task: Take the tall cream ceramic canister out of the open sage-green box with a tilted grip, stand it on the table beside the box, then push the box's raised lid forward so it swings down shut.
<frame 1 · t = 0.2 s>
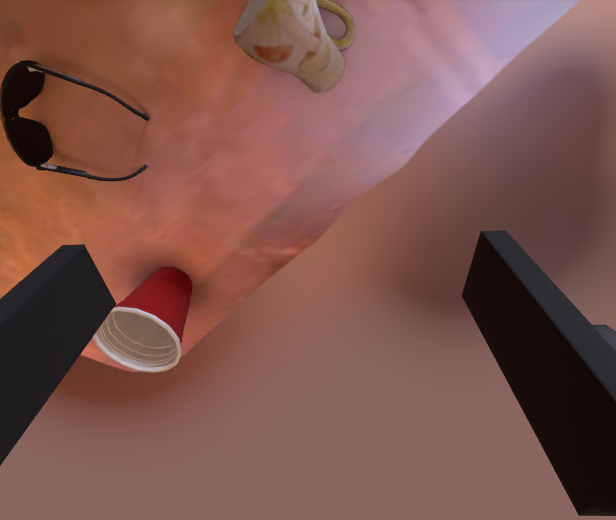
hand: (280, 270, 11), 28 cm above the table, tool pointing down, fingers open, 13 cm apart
plastic cup: (171, 280, 49), on the table
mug: (300, 35, 31), on the table
sunglasses: (95, 125, 36), on the table
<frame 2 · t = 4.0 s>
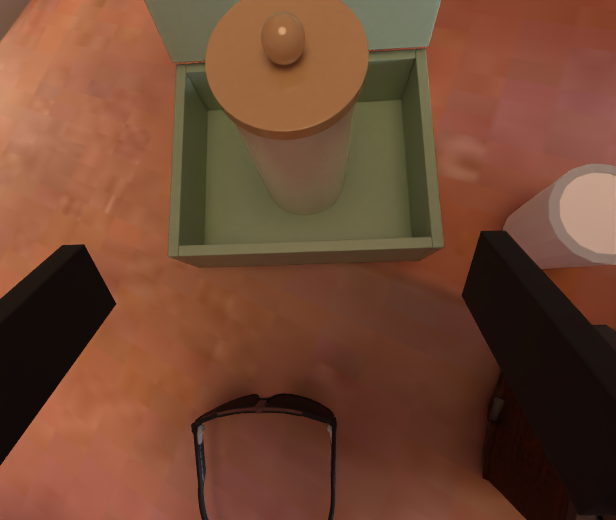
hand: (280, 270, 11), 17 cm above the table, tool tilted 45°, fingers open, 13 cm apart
brown manual coffee grinder: (546, 461, 25), on the table
box: (305, 180, 30), on the table
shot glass: (534, 237, 28), on the table
canister: (304, 176, 29), point 1 cm above the table, touching box
sunglasses: (272, 462, 27), on the table
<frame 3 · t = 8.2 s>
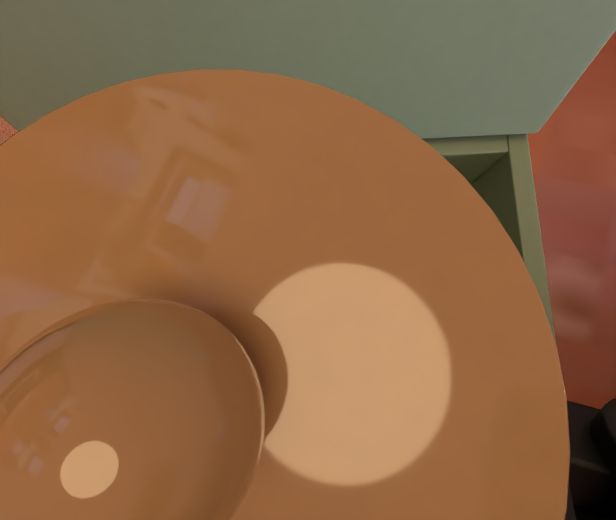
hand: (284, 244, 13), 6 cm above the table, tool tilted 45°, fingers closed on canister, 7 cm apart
box: (298, 328, 18), on the table
canister: (297, 329, 17), point 1 cm above the table, touching box, gripper
when the fingers open (5 cm above the table, at t = 17.7 s): canister stays where it is, on the table.
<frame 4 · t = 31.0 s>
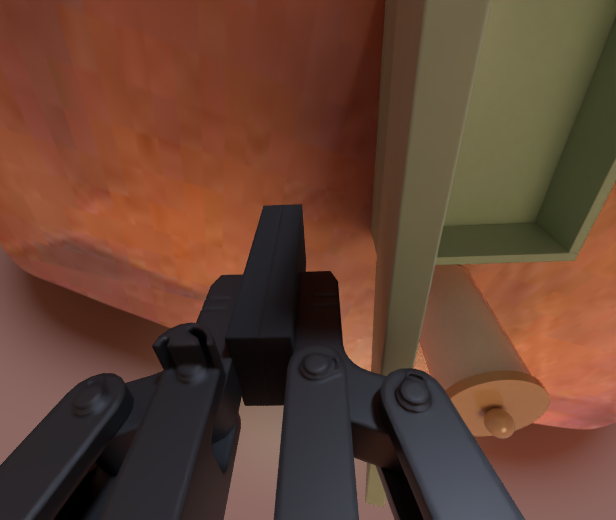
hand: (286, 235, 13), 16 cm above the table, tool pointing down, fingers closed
box: (477, 120, 26), on the table
box lid: (393, 208, 15), point 14 cm above the table, hinge at 99.7°, touching gripper
canister: (437, 289, 36), on the table
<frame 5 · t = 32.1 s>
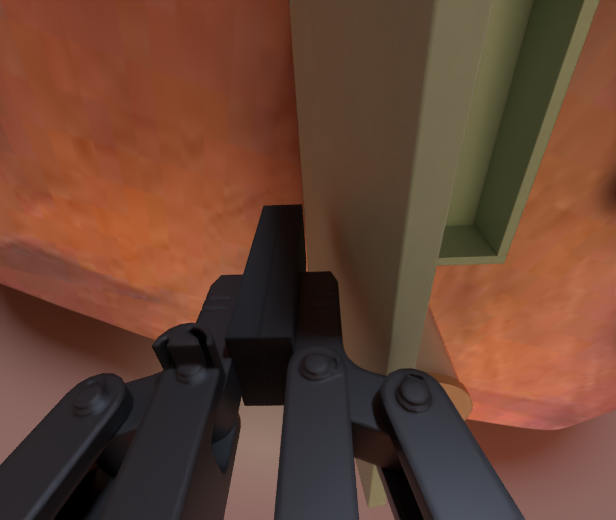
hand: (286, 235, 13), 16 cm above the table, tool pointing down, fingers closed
box: (405, 125, 26), on the table
box lid: (332, 211, 15), point 14 cm above the table, hinge at 80.1°
canister: (387, 290, 36), on the table
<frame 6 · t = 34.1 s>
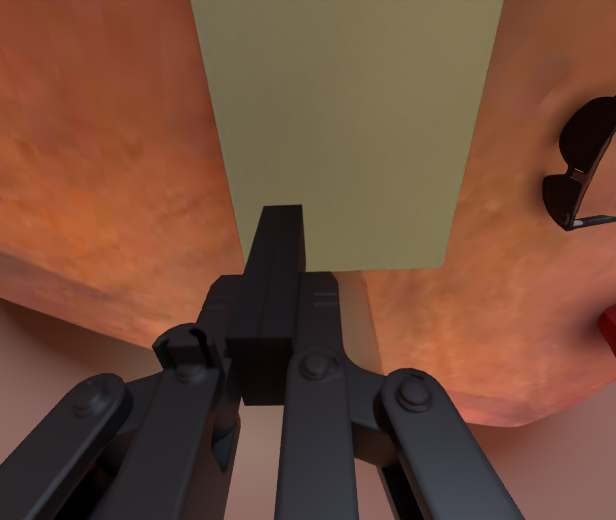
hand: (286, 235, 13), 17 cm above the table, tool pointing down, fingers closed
box lid: (344, 152, 22), point 6 cm above the table, hinge at -0.1°
canister: (334, 289, 37), on the table
sunglasses: (613, 154, 28), on the table
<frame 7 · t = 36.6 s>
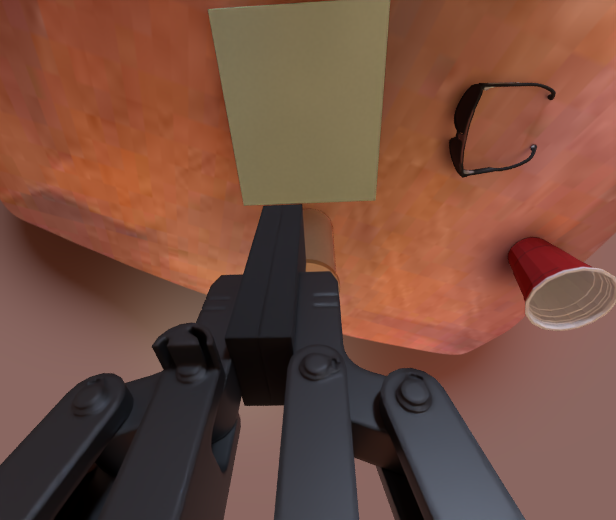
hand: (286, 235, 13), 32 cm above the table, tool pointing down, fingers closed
box lid: (304, 118, 35), point 6 cm above the table, hinge at -0.1°
canister: (309, 229, 50), on the table
plastic cup: (524, 250, 52), on the table
sunglasses: (494, 124, 41), on the table
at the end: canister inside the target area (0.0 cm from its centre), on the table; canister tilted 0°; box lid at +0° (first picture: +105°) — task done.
